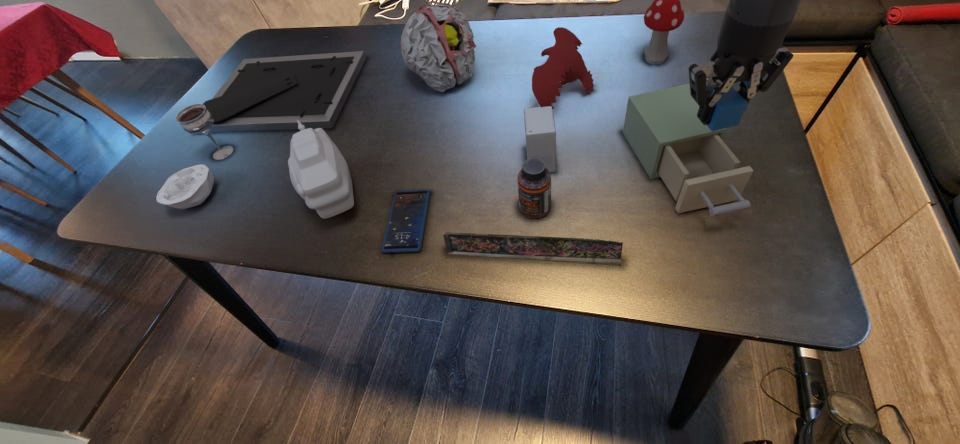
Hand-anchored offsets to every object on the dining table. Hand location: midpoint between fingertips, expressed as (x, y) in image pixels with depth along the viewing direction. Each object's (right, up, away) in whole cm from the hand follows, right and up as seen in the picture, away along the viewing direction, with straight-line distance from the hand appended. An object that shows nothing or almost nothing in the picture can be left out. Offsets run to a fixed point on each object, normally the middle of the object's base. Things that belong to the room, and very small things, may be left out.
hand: (719, 117), depth 66 cm
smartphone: (-51, -16, +17) cm, 56 cm away
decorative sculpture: (-46, +22, +47) cm, 69 cm away
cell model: (-100, -11, +30) cm, 105 cm away
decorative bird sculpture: (-16, +16, +36) cm, 43 cm away
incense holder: (-28, -22, +8) cm, 37 cm away
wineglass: (-100, +1, +39) cm, 108 cm away
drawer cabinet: (0, -1, +20) cm, 20 cm away
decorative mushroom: (+6, +24, +39) cm, 46 cm away
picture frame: (-91, +19, +51) cm, 106 cm away
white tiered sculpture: (-68, -11, +24) cm, 72 cm away
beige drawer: (+2, -10, +11) cm, 15 cm away
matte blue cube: (0, 0, 0) cm, 0 cm away
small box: (-24, -3, +23) cm, 34 cm away
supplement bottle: (-27, -14, +15) cm, 33 cm away
